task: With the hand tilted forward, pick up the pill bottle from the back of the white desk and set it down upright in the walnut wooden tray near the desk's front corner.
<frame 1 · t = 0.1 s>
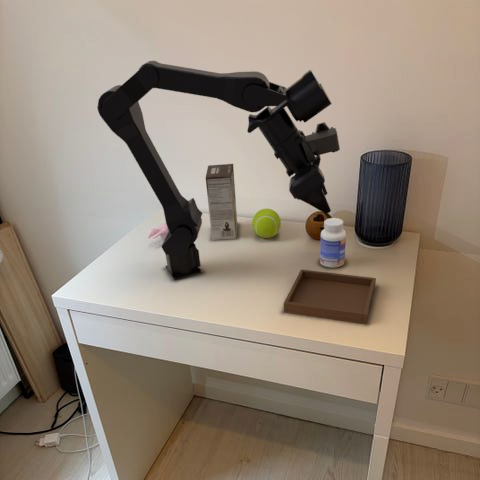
hand: (326, 203, 97), 15 cm above the table, tool tilted 35°, fingers open, 9 cm apart
tray: (330, 299, 95), on the table
coffee box: (225, 232, 124), on the table
pill bottle: (331, 263, 108), on the table
tennis ball: (267, 237, 121), on the table
rabbit figure: (170, 237, 124), on the table
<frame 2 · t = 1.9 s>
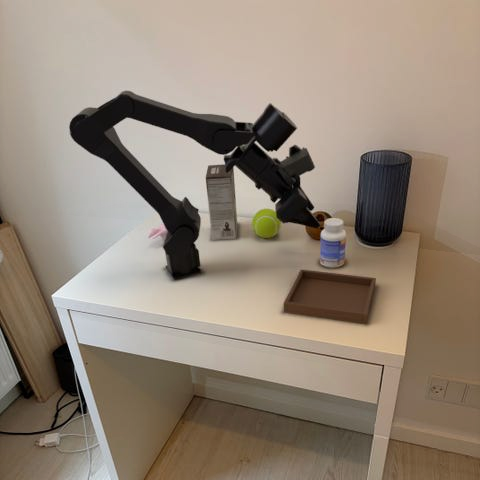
hand: (315, 217, 101), 11 cm above the table, tool tilted 45°, fingers open, 9 cm apart
nothing on the table moved.
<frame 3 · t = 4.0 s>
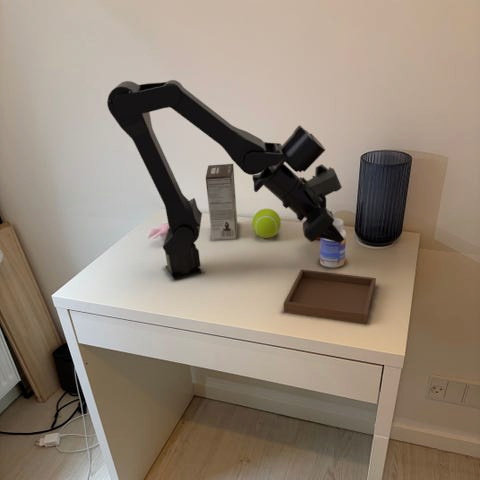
hand: (340, 234, 104), 7 cm above the table, tool tilted 45°, fingers closed on pill bottle, 5 cm apart
pill bottle: (331, 263, 108), on the table, touching gripper
everything else where it was.
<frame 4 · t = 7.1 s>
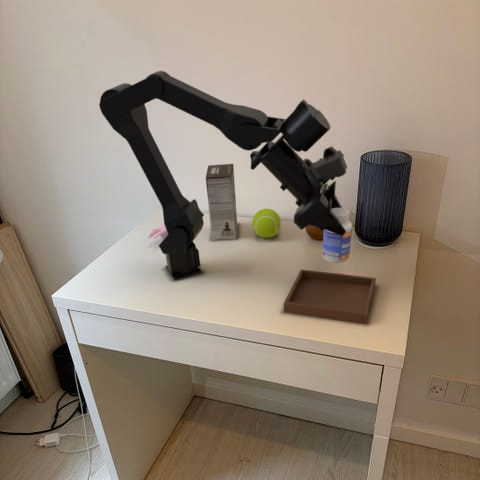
hand: (345, 227, 93), 12 cm above the table, tool tilted 45°, fingers closed on pill bottle, 5 cm apart
pill bottle: (335, 258, 98), point 5 cm above the table, touching gripper
everything else where it was.
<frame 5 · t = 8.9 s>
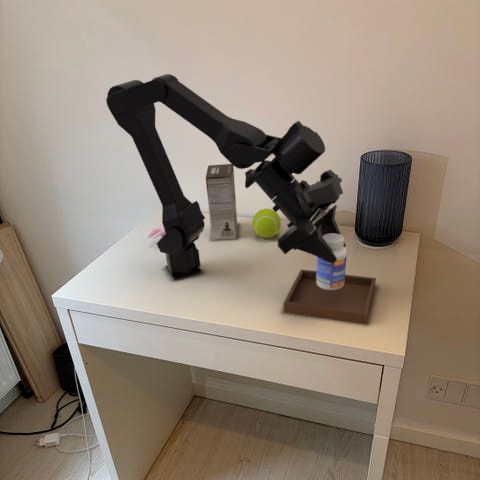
hand: (339, 254, 89), 10 cm above the table, tool tilted 45°, fingers closed on pill bottle, 5 cm apart
pill bottle: (330, 284, 94), point 3 cm above the table, touching gripper
everything else where it was.
when the fingers open (7 cm above the table, at t = 10.2 s): pill bottle stays where it is, resting on tray.
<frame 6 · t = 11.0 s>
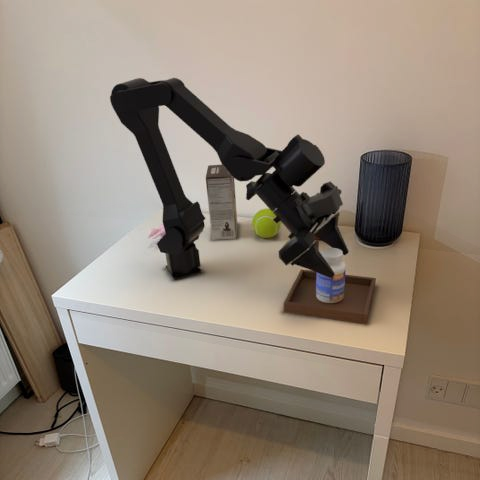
hand: (340, 264, 90), 8 cm above the table, tool tilted 45°, fingers open, 9 cm apart
pill bottle: (329, 297, 95), resting on tray
everything else where it was.
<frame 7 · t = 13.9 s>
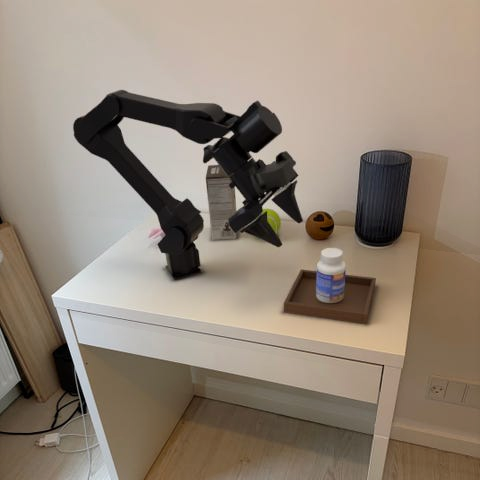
hand: (291, 233, 93), 12 cm above the table, tool tilted 40°, fingers open, 9 cm apart
nothing on the table moved.
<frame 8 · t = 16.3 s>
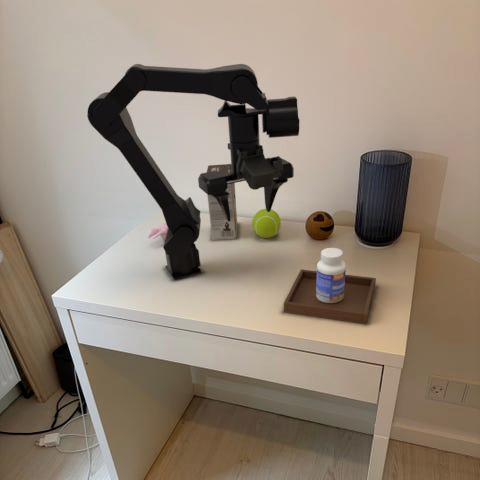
hand: (248, 216, 101), 12 cm above the table, tool pointing down, fingers open, 9 cm apart
nothing on the table moved.
at the end: pill bottle inside the target area in the tray (0.2 cm from its centre), point 0.3 cm above the tray's base; pill bottle tilted 0°; the gripper is holding nothing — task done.
